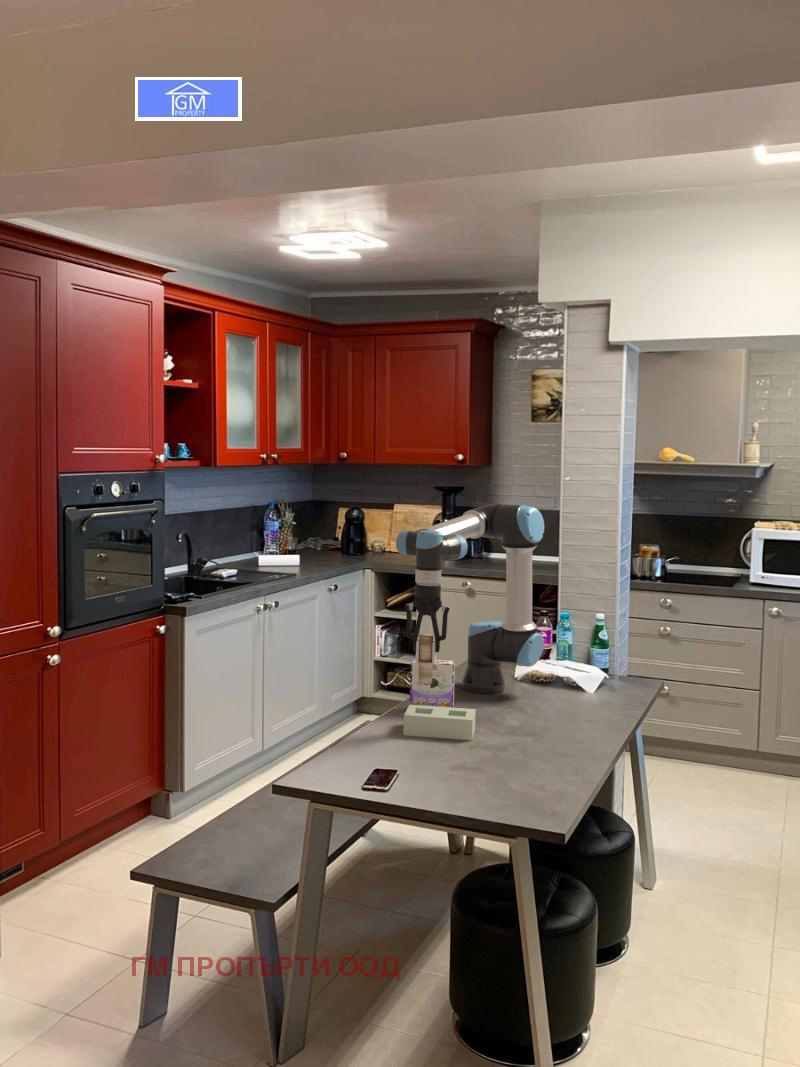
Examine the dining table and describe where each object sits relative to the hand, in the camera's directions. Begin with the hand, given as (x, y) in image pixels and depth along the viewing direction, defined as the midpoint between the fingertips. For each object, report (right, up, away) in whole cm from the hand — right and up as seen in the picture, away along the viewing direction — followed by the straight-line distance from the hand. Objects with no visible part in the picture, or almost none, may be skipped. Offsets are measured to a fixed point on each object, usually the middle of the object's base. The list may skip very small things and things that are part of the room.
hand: (425, 662), depth 279 cm
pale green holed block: (+4, -21, +2) cm, 21 cm away
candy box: (+2, -19, +22) cm, 29 cm away
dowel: (0, -6, +1) cm, 6 cm away
